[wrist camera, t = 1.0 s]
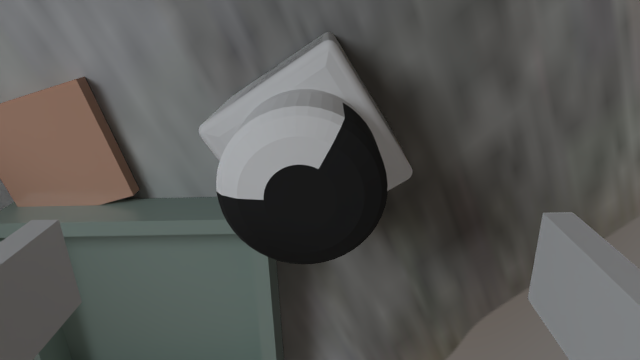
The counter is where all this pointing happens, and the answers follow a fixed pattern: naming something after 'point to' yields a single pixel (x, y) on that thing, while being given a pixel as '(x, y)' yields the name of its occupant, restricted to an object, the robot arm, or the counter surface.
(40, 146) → the terracotta tile
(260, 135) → the container
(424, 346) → the counter surface
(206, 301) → the box
